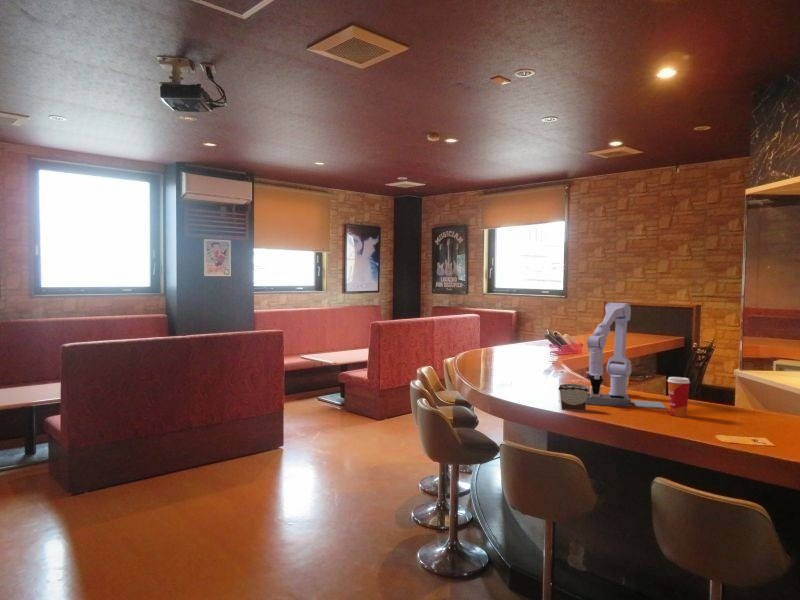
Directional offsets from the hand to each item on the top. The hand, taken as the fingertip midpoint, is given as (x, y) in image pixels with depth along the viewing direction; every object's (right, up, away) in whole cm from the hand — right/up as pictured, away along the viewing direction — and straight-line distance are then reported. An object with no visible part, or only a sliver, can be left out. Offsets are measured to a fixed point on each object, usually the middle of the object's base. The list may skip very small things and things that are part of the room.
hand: (595, 393), depth 240 cm
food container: (-14, -5, -13) cm, 19 cm away
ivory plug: (0, -4, 0) cm, 4 cm away
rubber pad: (+21, -5, -5) cm, 22 cm away
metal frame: (+4, -4, -1) cm, 6 cm away
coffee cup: (+25, -5, -23) cm, 34 cm away
